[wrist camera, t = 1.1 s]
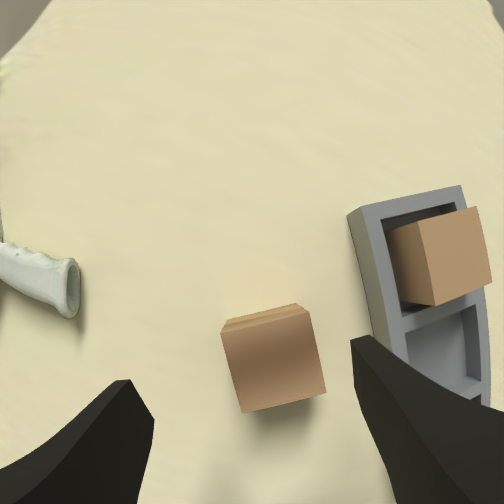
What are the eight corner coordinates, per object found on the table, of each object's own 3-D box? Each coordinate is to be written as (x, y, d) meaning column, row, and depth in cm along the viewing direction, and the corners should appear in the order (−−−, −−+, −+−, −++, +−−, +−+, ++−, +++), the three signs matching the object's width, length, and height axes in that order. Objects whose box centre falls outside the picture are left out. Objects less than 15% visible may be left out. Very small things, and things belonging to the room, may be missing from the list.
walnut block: (310, 367, 20) (326, 392, 15) (244, 383, 20) (242, 413, 15) (295, 303, 21) (309, 311, 16) (227, 319, 21) (220, 333, 16)
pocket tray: (468, 442, 20) (505, 470, 14) (391, 480, 19) (419, 520, 13) (439, 194, 21) (486, 173, 15) (346, 215, 21) (379, 194, 15)
